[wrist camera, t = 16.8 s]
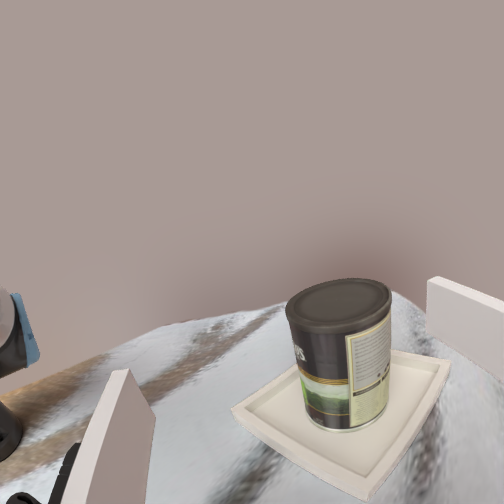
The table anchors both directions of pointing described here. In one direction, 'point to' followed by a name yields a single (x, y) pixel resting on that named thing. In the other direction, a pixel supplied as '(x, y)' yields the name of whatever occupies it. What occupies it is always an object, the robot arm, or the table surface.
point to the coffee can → (343, 351)
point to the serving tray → (353, 443)
